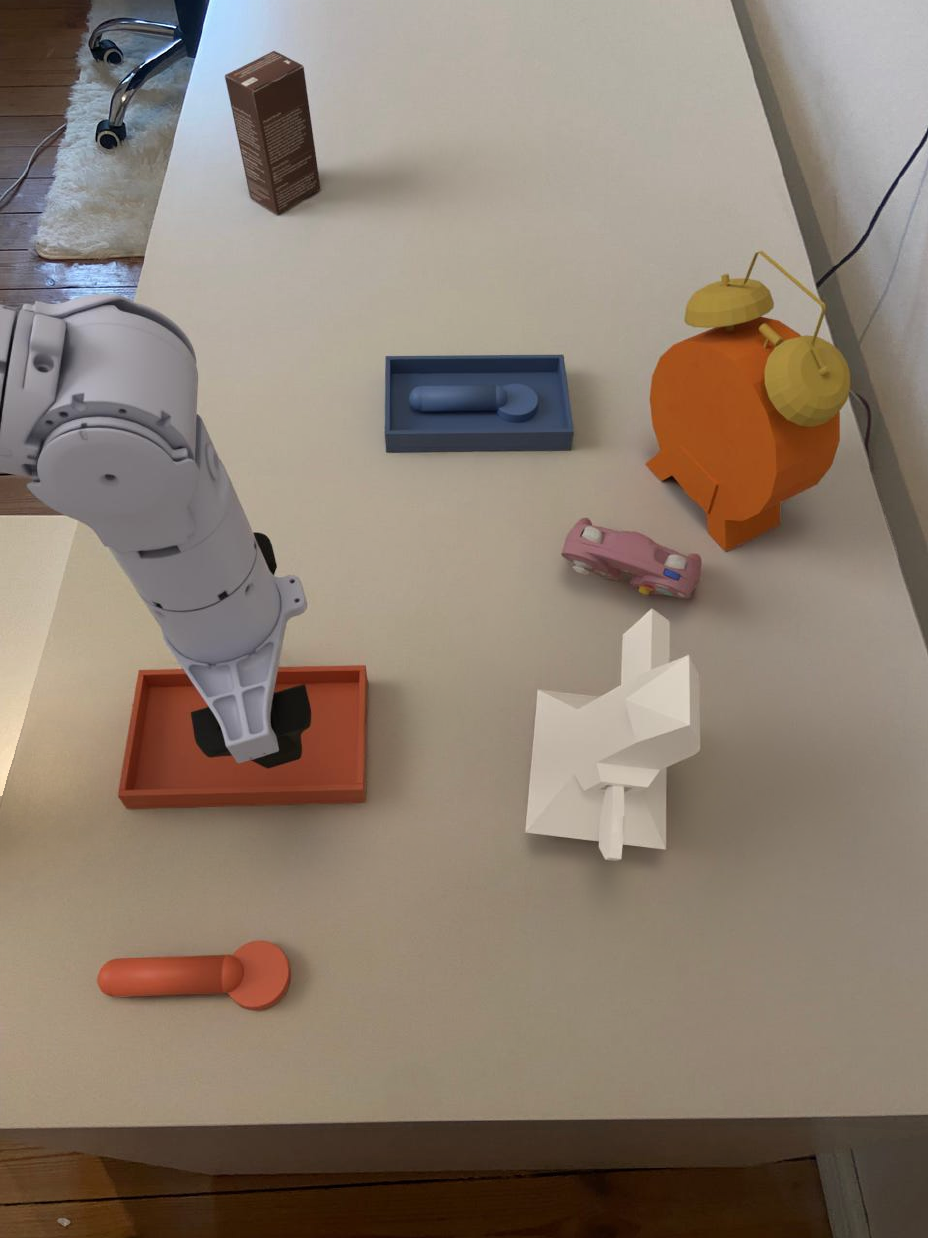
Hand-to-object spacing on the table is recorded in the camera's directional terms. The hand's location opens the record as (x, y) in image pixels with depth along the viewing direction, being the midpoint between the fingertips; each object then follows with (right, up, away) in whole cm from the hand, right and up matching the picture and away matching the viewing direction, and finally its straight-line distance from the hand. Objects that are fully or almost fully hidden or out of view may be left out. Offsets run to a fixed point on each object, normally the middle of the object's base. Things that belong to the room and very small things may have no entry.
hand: (269, 699), depth 55 cm
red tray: (-3, -3, +8) cm, 9 cm away
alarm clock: (+30, +14, +21) cm, 39 cm away
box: (-7, +46, +40) cm, 62 cm away
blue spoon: (+12, +22, +24) cm, 35 cm away
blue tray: (+12, +22, +25) cm, 35 cm away
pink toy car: (+23, +7, +16) cm, 29 cm away
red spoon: (-4, -16, 0) cm, 16 cm away
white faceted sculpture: (+19, -6, +7) cm, 21 cm away
